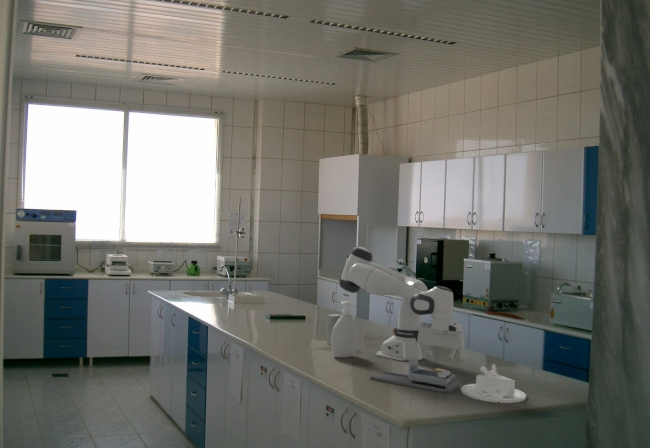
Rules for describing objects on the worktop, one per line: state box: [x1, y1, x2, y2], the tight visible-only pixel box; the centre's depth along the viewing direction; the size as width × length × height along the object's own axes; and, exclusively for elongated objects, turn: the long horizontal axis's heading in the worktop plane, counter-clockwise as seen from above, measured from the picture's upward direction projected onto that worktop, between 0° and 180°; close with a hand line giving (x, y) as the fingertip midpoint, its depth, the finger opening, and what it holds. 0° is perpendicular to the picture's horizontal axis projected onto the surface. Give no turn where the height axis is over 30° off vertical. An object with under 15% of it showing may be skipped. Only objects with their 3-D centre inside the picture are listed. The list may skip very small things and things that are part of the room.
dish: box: [460, 363, 527, 404], centre depth 260 cm, size 25×25×11 cm
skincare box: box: [326, 313, 342, 346], centre depth 347 cm, size 8×7×16 cm
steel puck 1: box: [438, 372, 446, 379], centre depth 262 cm, size 3×3×3 cm
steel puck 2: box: [442, 369, 451, 378], centre depth 266 cm, size 3×3×3 cm
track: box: [370, 370, 460, 395], centre depth 271 cm, size 34×12×3 cm, turn 59°
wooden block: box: [433, 367, 446, 372], centre depth 279 cm, size 4×4×4 cm
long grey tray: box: [407, 358, 456, 389], centre depth 267 cm, size 17×10×9 cm, turn 59°
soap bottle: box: [330, 300, 359, 359], centre depth 318 cm, size 14×8×27 cm, turn 117°
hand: (439, 357), depth 279 cm, fingers open, 8 cm apart
